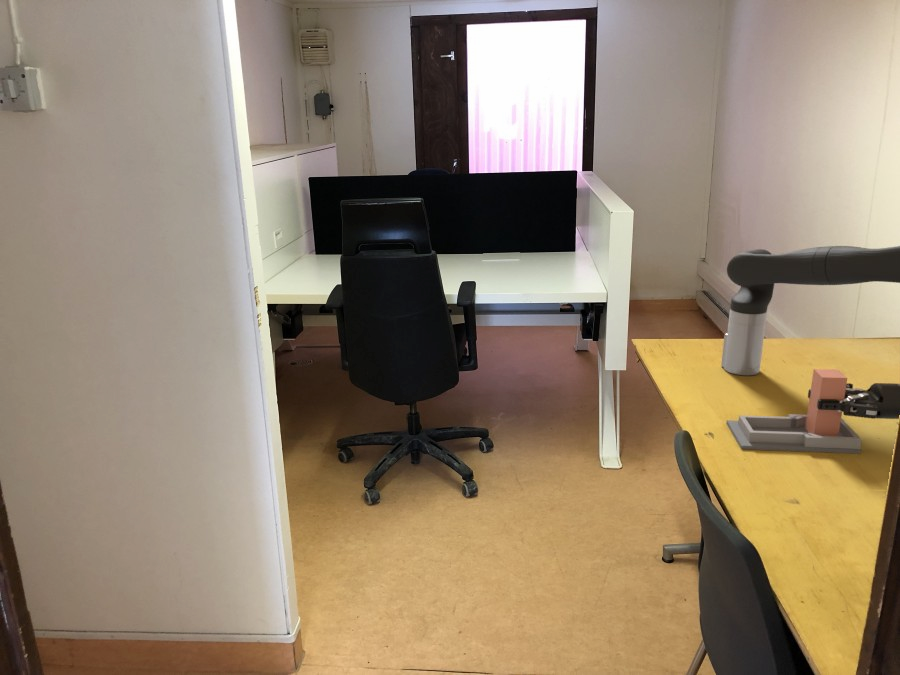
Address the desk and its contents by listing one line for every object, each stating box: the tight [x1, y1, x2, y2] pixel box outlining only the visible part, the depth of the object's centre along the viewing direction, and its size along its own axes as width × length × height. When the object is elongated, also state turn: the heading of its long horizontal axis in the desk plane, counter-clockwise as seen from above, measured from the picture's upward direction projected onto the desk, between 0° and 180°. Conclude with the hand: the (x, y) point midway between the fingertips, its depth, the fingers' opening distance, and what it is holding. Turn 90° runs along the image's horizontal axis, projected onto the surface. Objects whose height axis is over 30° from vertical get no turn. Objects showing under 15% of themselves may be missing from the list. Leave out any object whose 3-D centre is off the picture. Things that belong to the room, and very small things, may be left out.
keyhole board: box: [726, 413, 862, 454], centre depth 159 cm, size 24×13×3 cm, turn 83°
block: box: [805, 368, 848, 437], centre depth 156 cm, size 5×5×14 cm
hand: (813, 399), depth 156 cm, fingers closed on block, 5 cm apart
